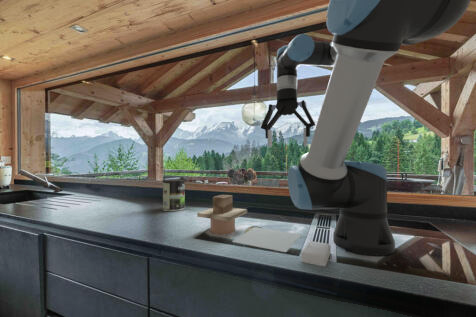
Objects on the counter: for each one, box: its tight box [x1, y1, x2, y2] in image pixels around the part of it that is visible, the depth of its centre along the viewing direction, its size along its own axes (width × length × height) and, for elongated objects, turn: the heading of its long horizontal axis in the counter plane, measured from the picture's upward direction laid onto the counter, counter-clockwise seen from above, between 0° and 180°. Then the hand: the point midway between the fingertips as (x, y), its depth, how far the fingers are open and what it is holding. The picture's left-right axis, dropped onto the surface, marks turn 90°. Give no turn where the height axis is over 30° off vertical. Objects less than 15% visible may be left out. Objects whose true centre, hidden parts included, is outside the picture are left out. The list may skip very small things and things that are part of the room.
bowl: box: [210, 218, 236, 235], centre depth 78 cm, size 8×8×6 cm
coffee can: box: [162, 178, 186, 212], centre depth 112 cm, size 10×10×14 cm
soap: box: [300, 240, 332, 267], centre depth 56 cm, size 9×6×3 cm, turn 151°
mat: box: [231, 226, 302, 253], centre depth 70 cm, size 16×16×1 cm
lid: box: [196, 194, 248, 221], centre depth 78 cm, size 12×12×6 cm
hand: (287, 146), depth 88 cm, fingers open, 13 cm apart
